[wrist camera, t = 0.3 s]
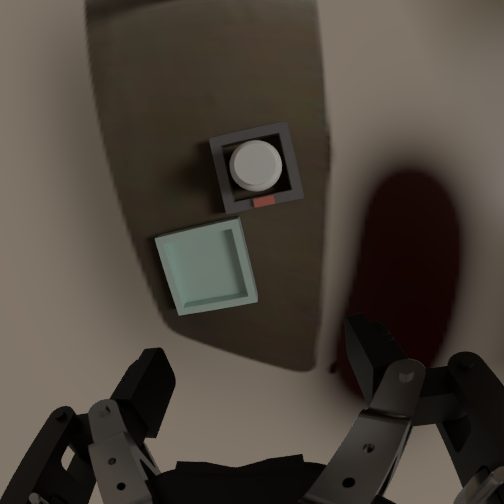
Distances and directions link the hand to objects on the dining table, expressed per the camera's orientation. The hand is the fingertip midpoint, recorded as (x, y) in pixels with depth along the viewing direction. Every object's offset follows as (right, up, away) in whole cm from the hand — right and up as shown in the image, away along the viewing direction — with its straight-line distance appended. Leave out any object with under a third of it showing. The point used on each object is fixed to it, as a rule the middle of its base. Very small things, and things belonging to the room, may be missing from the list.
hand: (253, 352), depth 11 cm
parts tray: (-6, +2, +27) cm, 27 cm away
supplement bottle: (+1, +15, +23) cm, 28 cm away
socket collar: (+1, +15, +23) cm, 27 cm away
